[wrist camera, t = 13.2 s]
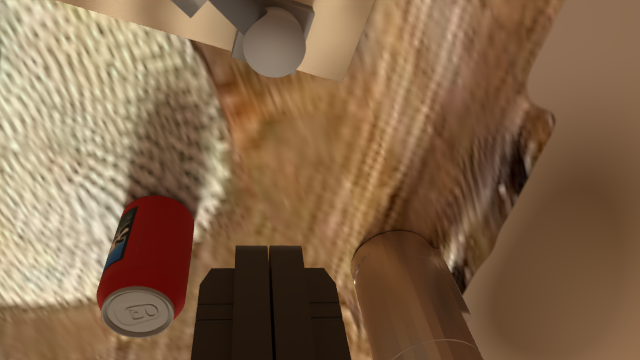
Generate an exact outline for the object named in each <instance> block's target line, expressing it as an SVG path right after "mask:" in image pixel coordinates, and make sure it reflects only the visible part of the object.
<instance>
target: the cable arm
mask: <svg viewBox="0 0 640 360" xmlns="http://www.w3.org/2000/svg"><path fill="white" fill-rule="evenodd" d="M208 1H209V2H210V3H211V4H212V5H213V6H214V7H215V8H216V9H217V10H218V11H219V12H220V13H221V14H222V15H223V16H224V17H225V18H226V19H227V20H228V21H229V22H230V23H231V24H232V25H233V26H234V27H235V28H236V29H237V30H238V31H239V32H240V33H241V34H242V35H243V51H244V55H245V58H246V60H247V62H248V64H249V65H250V66H251V67H252V69H254V70H255V71H256V72H258V73H259V74H261V75H264V76H267V77H274V78H275V77H283V76H286V75H288V74H290V73H292V72H293V71H295V70H296V69H297V68H298V67H299V66H300V64H301V63H302V61H303V59H304V56H305V52H306V42H305V38H304V35H303V31H302V28H301V26H300V23H299V22H298V20H297V19H296V17H295V16H294V15H293V14H292V13H290V12H289V11H287V10H285V9H283V8H279V7H266V8H264V7H263V6H262V5H261V3H260V2H259V1H258V0H208Z"/></svg>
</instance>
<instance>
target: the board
mask: <svg viewBox="0 0 640 360" xmlns="http://www.w3.org/2000/svg"><path fill="white" fill-rule="evenodd" d="M57 1H60V2H64V3H67V4H71V5H74V6H78V7H81V8H85V9H88V10H91V11H95V12H98V13H102V14H105V15H109V16H112V17H116V18H119V19H123V20H126V21H130V22H133V23H136V24H140V25H143V26H147V27H150V28H154V29H157V30H161V31H164V32H168V33H171V34H174V35H178V36H181V37H185V38H188V39H192V40H195V41H199V42H202V43H206V44H209V45H213V46H216V47H219V48H223V49H226V50H230V51H232V58H235V59H239V60H242V61H246V62H247V60H246V58H245V55H244V51H243V35H242V34H241V33H240V32H239V31H238V30H237V29H236V28H235V27H234V26H233V25H232V24H231V23H230V22H229V21H228V20H227V19H226V18H225V17H224V16H223V15H222V14H221V13H220V12H219V11H218V10H217V9H216V8H215V7H214V6H213V5H212V4H211V3H210V2H209V1H208V0H207V2H206V3H205V4H204V5H203V6H202V7H201V8H200V9H199V10H198V11H197V12H196V13H195V15H194V16H193V17H192V18H190V17H189V16H187V15H186V14H185V13H184V12H183V11H182V10H181V9H180V8H179V7H178V6H176V5H175V4H174V3H173V2H172V1H171V0H57ZM258 1H259V2H260V3H261V5H262V6H263V7H264V8H266V7H279V8H283V9H285V10H287V11H289V12H290V13H292V14H293V15H294V16H295V17H296V19H297V20H298V22H299V23H300V26H301V28H302V31H303V35H304V38H305V42H306V52H305V56H304V59H303V61H302V63H301V64H300V66H299V67H298V68H297V69H296V70H299V71H303V72H306V73H309V74H313V75H316V76H320V77H323V78H327V79H330V80H334V81H337V82H341V83H342V82H343V80H344V77H345V75H346V72H347V70H348V67H349V64H350V62H351V59H352V57H353V54H354V52H355V49H356V47H357V44H358V41H359V39H360V36H361V34H362V31H363V29H364V26H365V24H366V21H367V18H368V16H369V13H370V11H371V8H372V6H373V3H374V1H375V0H258ZM296 70H295V71H293V72H292V73H290V74H291V75H295V72H296Z"/></svg>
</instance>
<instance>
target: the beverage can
mask: <svg viewBox="0 0 640 360" xmlns="http://www.w3.org/2000/svg"><path fill="white" fill-rule="evenodd" d="M193 233H194V220H193V217H192V215H191V213H190V212H189V210H188V209H187V208H186V207H185V206H184V205H183V204H181V203H180V202H178V201H176V200H174V199H172V198H169V197H165V196H146V197H142V198H139V199H137V200H135V201H133V202H132V203H130V204H129V205H128V206H127V207H126V208H125V210H124V211H123V214H122V216H121V219H120V222H119V225H118V228H117V231H116V234H115V237H114V240H113V242H112V245H111V249H110V252H109V255H108V258H107V261H106V264H105V267H104V270H103V273H102V277H101V280H100V283H99V286H98V290H97V302H98V305H99V307H100V310H101V316H102V319H103V321H104V323H105V324H106V326H107V327H108V328H110V329H111V330H112V331H114V332H116V333H118V334H120V335H123V336H126V337H131V338H147V337H152V336H155V335H158V334H160V333H162V332H164V331H165V330H166V329H168V327H169V326H170V325H171V324H172V322H173V320H174V319H175V318H176V317H177V316H178V315H179V313H180V312H181V311H182V309H183V307H184V304H185V298H186V290H187V283H188V276H189V268H190V260H191V251H192V242H193Z"/></svg>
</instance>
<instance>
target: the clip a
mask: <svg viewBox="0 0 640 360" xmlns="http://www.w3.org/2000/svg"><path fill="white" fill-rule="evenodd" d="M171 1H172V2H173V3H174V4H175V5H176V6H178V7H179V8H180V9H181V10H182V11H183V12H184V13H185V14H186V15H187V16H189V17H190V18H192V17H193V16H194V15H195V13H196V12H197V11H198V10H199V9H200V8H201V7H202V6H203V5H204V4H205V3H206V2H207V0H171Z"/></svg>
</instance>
